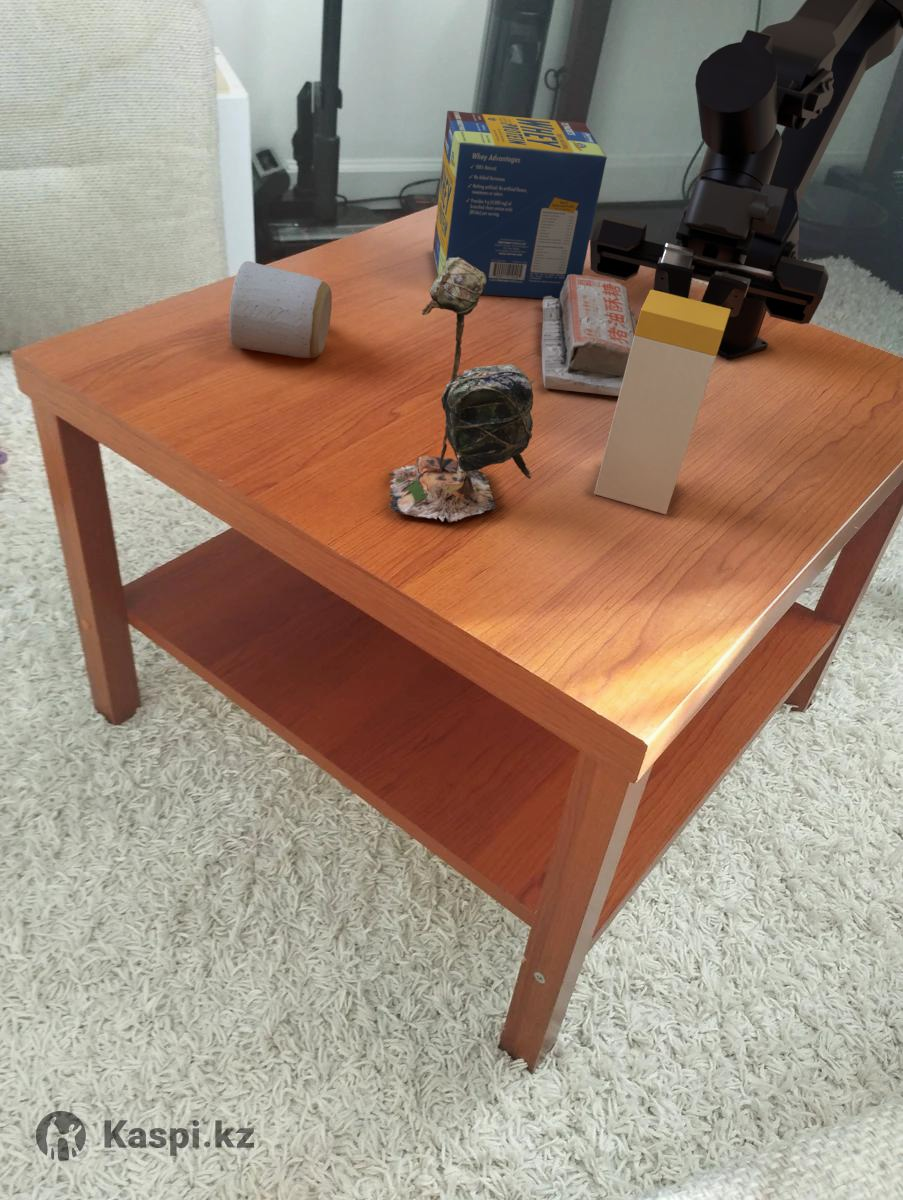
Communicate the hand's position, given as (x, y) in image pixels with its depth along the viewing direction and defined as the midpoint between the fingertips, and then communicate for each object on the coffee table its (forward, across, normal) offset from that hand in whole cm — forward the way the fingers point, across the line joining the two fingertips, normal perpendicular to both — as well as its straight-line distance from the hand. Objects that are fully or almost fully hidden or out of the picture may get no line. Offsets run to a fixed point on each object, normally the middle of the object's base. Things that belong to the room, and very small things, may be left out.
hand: (673, 367), depth 81 cm
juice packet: (+10, 0, +2) cm, 10 cm away
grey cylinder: (+5, -36, +8) cm, 37 cm away
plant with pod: (+16, -13, -4) cm, 21 cm away
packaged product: (-5, -9, +18) cm, 20 cm away
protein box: (-14, -22, +27) cm, 37 cm away
